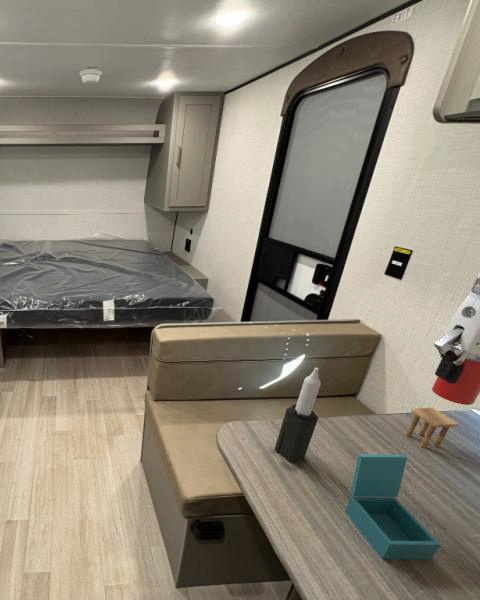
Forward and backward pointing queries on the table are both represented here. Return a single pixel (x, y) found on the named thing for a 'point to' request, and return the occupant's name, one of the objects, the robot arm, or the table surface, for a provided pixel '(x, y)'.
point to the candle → (299, 422)
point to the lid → (378, 475)
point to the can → (461, 383)
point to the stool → (435, 420)
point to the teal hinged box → (391, 528)
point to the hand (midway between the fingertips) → (461, 378)
